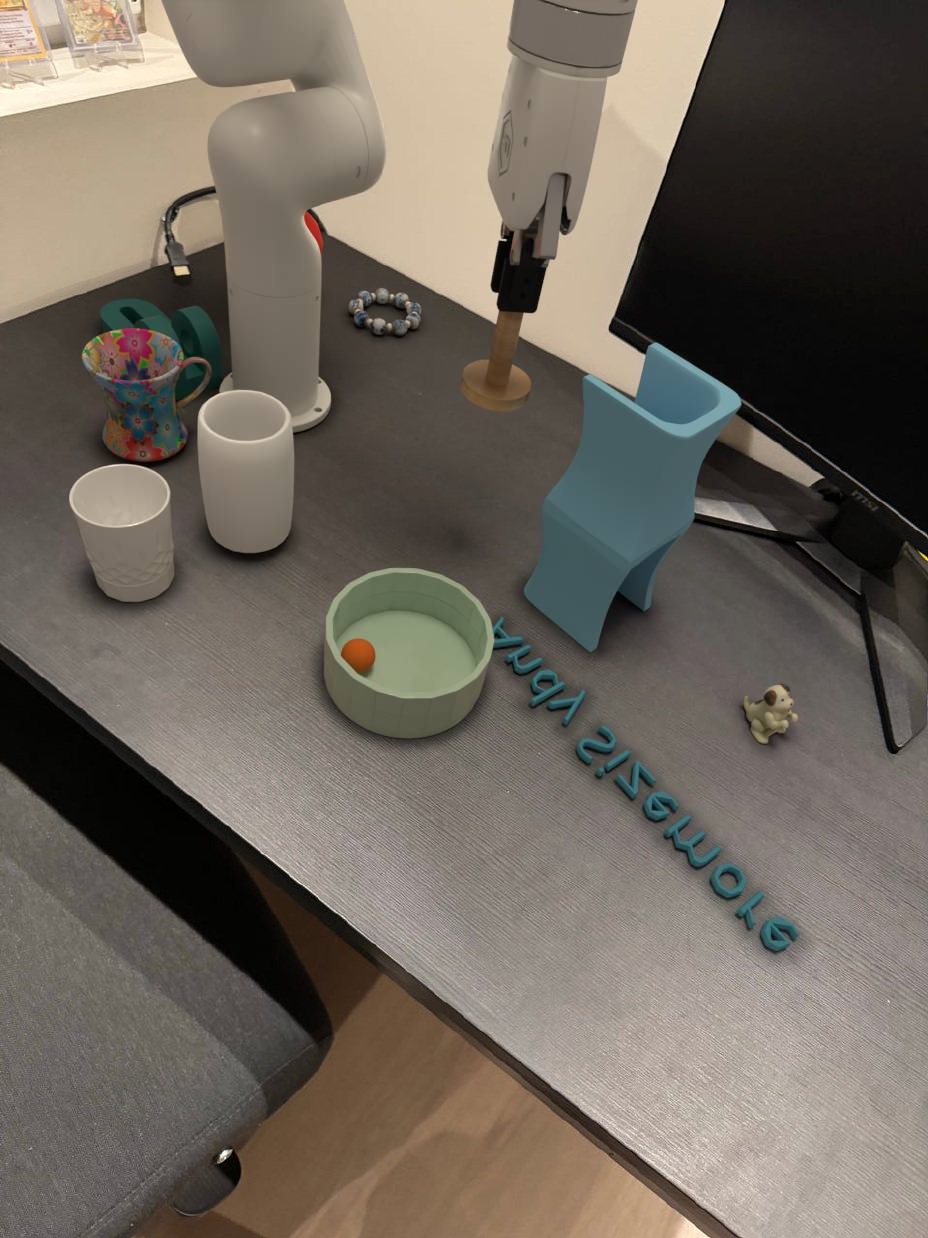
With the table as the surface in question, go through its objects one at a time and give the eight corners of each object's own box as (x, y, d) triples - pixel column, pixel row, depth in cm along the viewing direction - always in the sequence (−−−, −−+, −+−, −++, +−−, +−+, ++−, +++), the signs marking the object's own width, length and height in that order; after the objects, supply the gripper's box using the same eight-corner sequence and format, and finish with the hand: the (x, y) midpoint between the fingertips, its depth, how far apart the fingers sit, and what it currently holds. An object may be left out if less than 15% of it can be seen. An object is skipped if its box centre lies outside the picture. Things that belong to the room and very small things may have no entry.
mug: (111, 477, 86) (93, 388, 78) (91, 422, 90) (72, 333, 82) (228, 456, 90) (222, 370, 82) (203, 405, 95) (196, 320, 87)
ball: (339, 652, 75) (341, 631, 72) (373, 652, 75) (376, 631, 73) (340, 679, 73) (342, 658, 71) (375, 679, 73) (377, 658, 71)
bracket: (223, 385, 98) (219, 323, 92) (170, 402, 95) (162, 339, 89) (145, 310, 106) (136, 249, 100) (92, 323, 102) (81, 261, 96)
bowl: (322, 610, 79) (324, 565, 74) (471, 612, 81) (481, 569, 77) (324, 740, 70) (327, 698, 65) (491, 737, 72) (505, 697, 68)
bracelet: (368, 291, 117) (369, 278, 116) (432, 314, 116) (434, 300, 114) (336, 322, 111) (337, 308, 109) (404, 347, 109) (406, 333, 108)
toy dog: (762, 748, 76) (787, 718, 73) (731, 706, 79) (753, 675, 75) (791, 738, 78) (817, 707, 74) (760, 697, 80) (783, 665, 76)
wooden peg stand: (456, 369, 75) (482, 209, 64) (521, 372, 76) (557, 216, 65) (466, 410, 71) (496, 247, 60) (534, 413, 72) (575, 253, 62)
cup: (311, 539, 84) (314, 423, 74) (242, 577, 80) (235, 459, 69) (257, 493, 87) (253, 375, 77) (188, 527, 83) (173, 407, 72)
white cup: (197, 563, 80) (188, 482, 72) (150, 620, 75) (135, 539, 67) (123, 535, 81) (106, 452, 73) (71, 589, 76) (47, 506, 68)
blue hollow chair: (578, 550, 90) (655, 340, 71) (650, 606, 86) (751, 400, 67) (516, 591, 84) (581, 376, 65) (590, 653, 80) (682, 443, 62)
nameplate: (508, 616, 82) (467, 636, 79) (509, 611, 81) (469, 631, 79) (804, 929, 65) (765, 967, 63) (809, 926, 65) (770, 964, 62)
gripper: (490, -15, 58) (452, 249, 71) (537, 66, 47) (482, 354, 61) (594, 1, 59) (537, 256, 73) (661, 82, 49) (580, 360, 63)
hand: (512, 299), depth 67 cm, fingers closed on wooden peg stand
